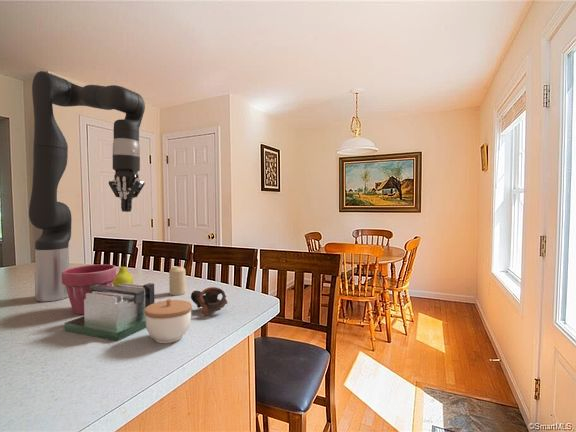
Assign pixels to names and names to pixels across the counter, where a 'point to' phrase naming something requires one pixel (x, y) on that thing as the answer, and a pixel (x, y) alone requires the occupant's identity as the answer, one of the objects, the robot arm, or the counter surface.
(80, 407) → the counter surface
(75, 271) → the plant pot
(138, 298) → the grey long bar
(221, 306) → the brown glossy rounded piece
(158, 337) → the lidded jar
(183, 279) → the candle
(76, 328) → the heat sink board
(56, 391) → the counter surface
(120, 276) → the fruit
